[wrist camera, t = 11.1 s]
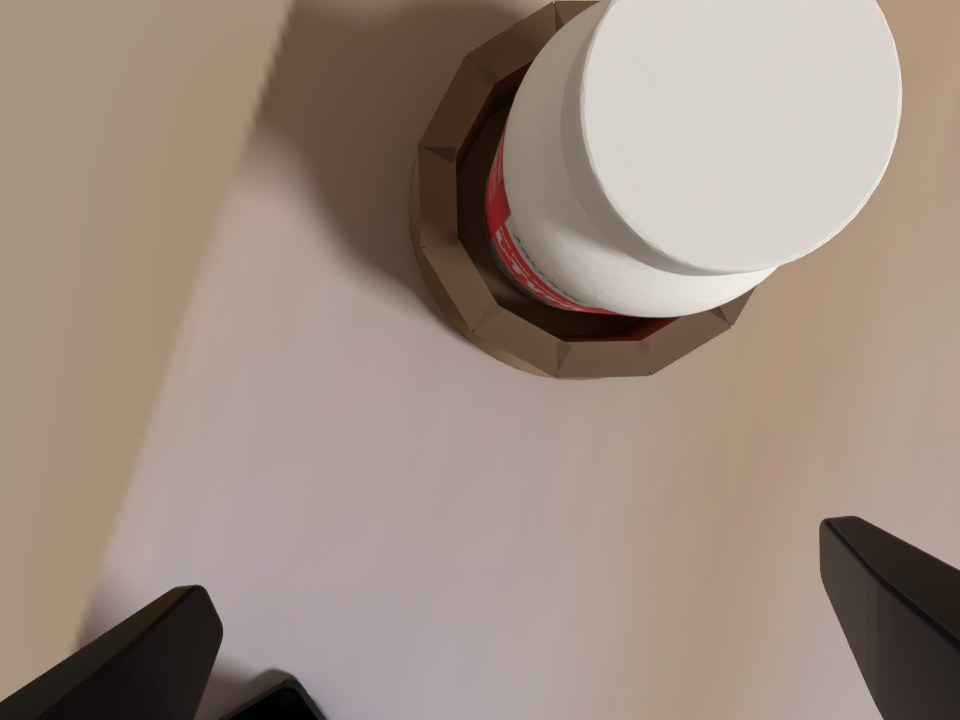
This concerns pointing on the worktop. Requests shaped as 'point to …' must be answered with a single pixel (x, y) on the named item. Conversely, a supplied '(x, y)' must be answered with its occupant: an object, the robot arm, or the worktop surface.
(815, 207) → the pill bottle
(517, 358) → the collar stand
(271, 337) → the worktop surface
